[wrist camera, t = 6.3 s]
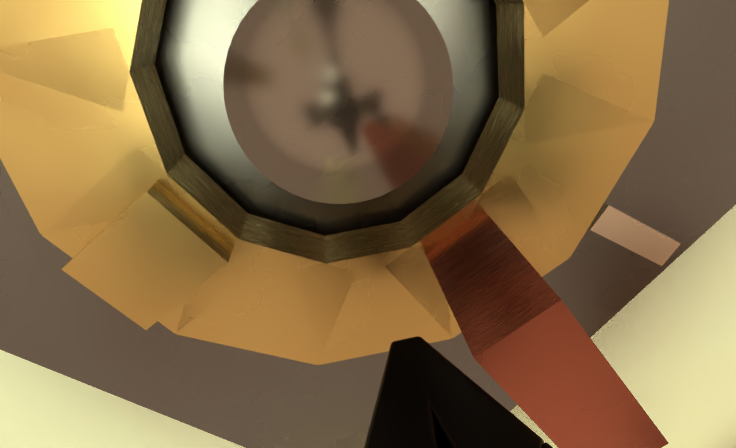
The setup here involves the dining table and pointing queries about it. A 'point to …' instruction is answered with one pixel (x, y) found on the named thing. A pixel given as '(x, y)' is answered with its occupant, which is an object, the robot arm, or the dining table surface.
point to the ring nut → (352, 248)
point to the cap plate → (352, 385)
